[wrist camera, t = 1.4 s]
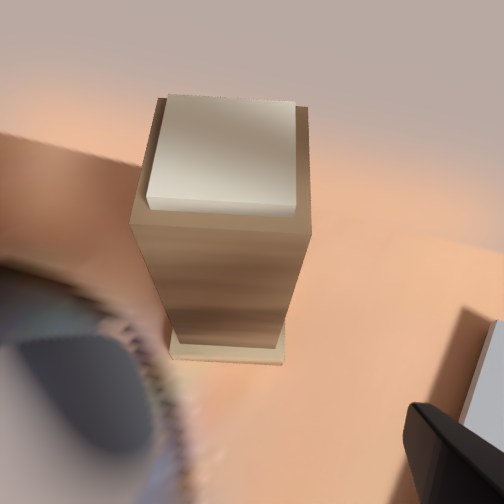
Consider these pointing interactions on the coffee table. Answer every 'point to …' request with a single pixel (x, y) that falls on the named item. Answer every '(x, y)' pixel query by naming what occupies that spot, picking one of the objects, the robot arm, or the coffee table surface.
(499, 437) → the block
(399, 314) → the coffee table surface
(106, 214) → the coffee table surface
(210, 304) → the light wood tall block
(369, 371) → the coffee table surface
